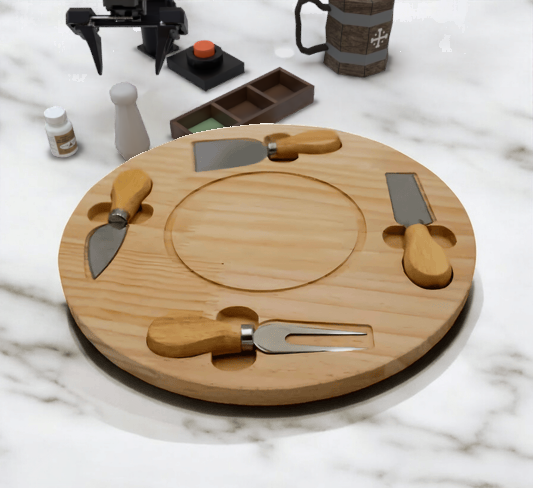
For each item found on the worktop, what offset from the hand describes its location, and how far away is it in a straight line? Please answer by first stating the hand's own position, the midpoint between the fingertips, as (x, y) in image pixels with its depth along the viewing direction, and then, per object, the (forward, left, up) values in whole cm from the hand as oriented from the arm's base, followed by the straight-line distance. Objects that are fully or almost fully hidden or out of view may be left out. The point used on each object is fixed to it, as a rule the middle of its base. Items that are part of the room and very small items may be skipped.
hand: (128, 74), depth 105 cm
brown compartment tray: (+9, +17, -12) cm, 22 cm away
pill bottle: (-5, -12, -12) cm, 18 cm away
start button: (-9, +22, -8) cm, 26 cm away
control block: (-9, +22, -12) cm, 27 cm away
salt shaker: (+4, -4, -12) cm, 13 cm away
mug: (+7, +44, -12) cm, 47 cm away
